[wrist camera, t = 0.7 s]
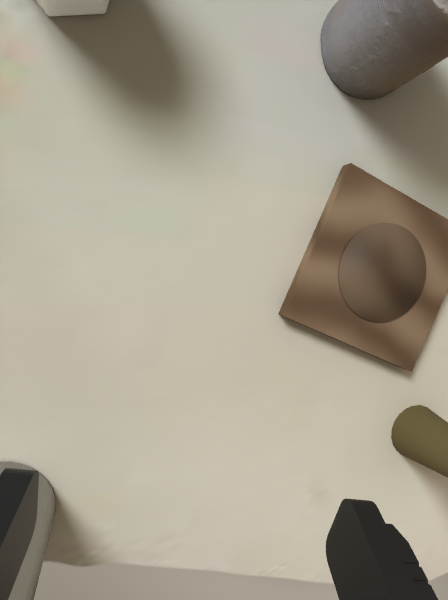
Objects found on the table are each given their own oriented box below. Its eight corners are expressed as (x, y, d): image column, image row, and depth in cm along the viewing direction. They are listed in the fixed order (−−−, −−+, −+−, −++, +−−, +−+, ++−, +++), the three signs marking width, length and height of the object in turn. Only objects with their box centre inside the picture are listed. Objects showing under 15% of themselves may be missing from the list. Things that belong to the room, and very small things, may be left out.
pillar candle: (423, 40, 42) (583, -74, 27) (374, 121, 41) (508, 49, 27) (352, -29, 39) (485, -195, 25) (298, 57, 39) (402, -61, 24)
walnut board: (402, 367, 46) (412, 372, 44) (278, 313, 41) (285, 316, 40) (460, 234, 45) (473, 233, 44) (342, 166, 41) (352, 162, 39)
